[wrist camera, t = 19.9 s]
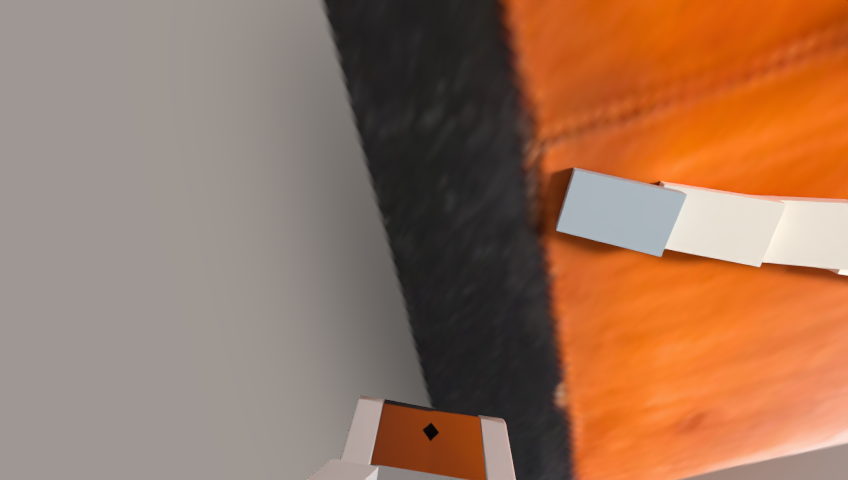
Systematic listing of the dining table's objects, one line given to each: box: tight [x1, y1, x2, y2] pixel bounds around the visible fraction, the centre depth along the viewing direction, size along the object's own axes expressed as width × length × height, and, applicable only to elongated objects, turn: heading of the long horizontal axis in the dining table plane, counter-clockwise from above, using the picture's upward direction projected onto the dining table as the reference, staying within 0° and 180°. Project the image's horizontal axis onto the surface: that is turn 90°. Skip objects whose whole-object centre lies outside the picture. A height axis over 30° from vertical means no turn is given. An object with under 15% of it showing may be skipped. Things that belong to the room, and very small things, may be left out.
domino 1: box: [556, 167, 687, 257], centre depth 32 cm, size 2×5×8 cm
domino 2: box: [659, 181, 787, 267], centre depth 32 cm, size 2×5×8 cm
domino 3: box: [754, 195, 848, 270], centre depth 32 cm, size 2×5×8 cm
